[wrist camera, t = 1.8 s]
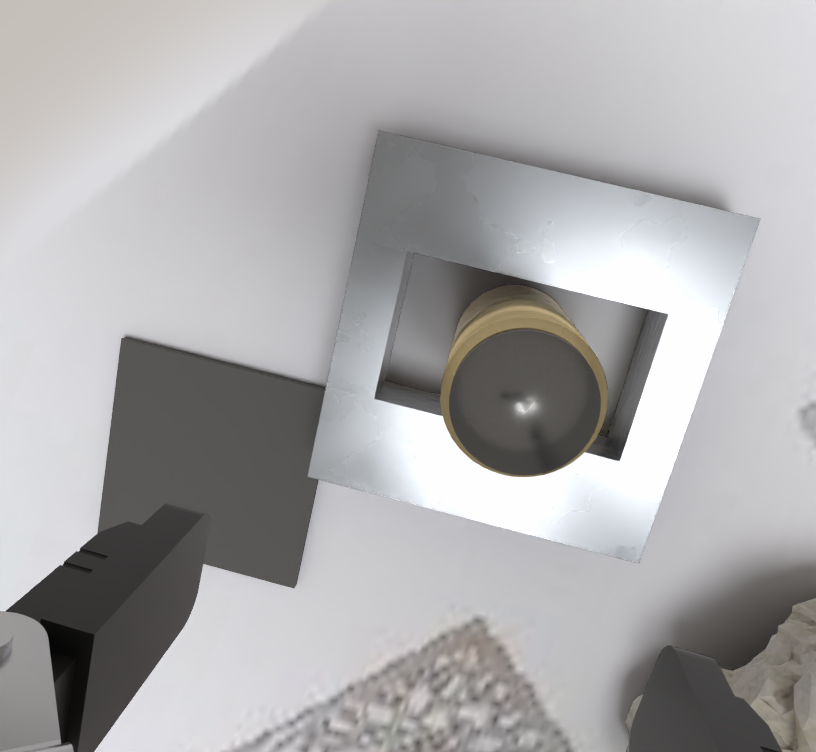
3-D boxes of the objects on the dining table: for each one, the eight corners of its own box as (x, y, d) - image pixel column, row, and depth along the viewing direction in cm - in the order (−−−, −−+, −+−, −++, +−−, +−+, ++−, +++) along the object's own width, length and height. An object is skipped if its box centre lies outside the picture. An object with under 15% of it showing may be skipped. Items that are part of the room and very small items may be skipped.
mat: (337, 390, 31) (335, 393, 30) (296, 583, 33) (294, 588, 33) (125, 337, 31) (121, 338, 31) (101, 531, 34) (97, 534, 34)
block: (731, 217, 27) (760, 219, 24) (624, 530, 31) (638, 563, 28) (390, 138, 28) (378, 129, 25) (324, 452, 32) (307, 476, 29)
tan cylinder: (587, 300, 29) (634, 344, 19) (554, 412, 30) (583, 502, 21) (470, 272, 29) (461, 302, 20) (442, 383, 30) (421, 461, 21)
